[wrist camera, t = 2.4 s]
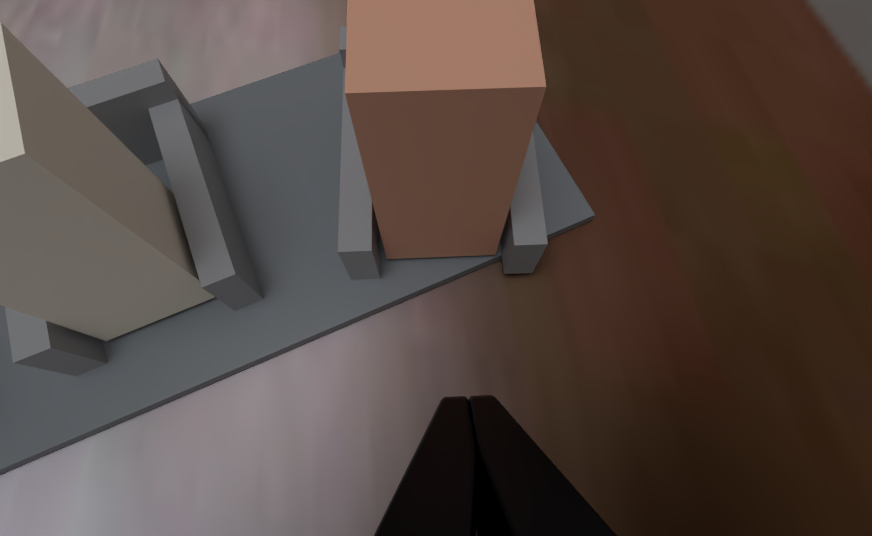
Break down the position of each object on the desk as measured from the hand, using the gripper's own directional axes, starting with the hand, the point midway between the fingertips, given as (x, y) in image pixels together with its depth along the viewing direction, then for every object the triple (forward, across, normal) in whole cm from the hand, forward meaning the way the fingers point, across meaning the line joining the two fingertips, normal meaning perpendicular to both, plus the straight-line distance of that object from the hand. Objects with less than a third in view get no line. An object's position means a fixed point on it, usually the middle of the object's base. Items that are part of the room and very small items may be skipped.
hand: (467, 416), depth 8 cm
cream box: (+13, +12, +3) cm, 18 cm away
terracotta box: (+14, 0, +2) cm, 14 cm away
